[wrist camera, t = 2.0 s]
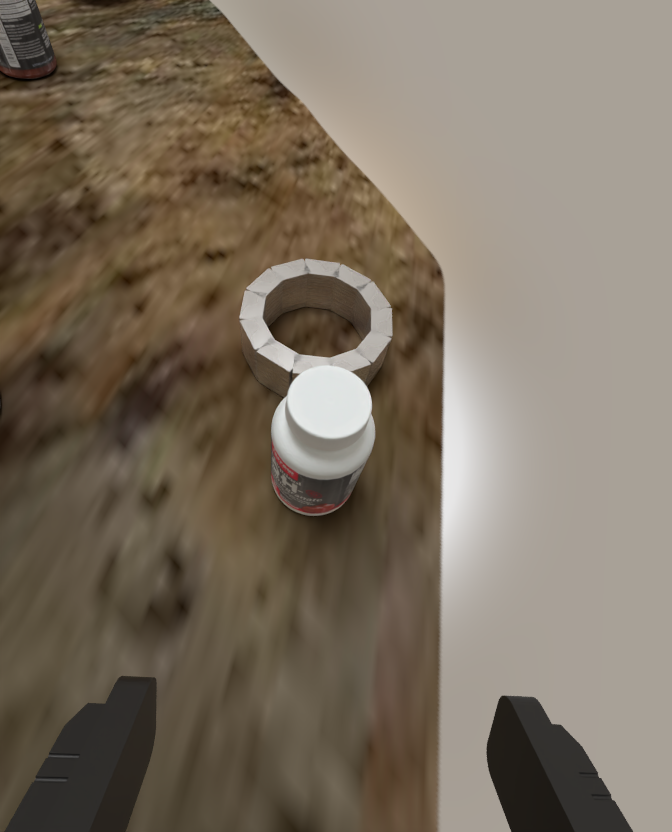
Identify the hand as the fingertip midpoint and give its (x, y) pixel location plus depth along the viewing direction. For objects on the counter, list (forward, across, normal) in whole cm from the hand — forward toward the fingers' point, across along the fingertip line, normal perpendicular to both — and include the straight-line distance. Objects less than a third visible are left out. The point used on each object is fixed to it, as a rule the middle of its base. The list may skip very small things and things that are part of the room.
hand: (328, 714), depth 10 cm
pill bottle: (+19, 0, +2) cm, 19 cm away
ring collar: (+26, +1, -6) cm, 27 cm away
